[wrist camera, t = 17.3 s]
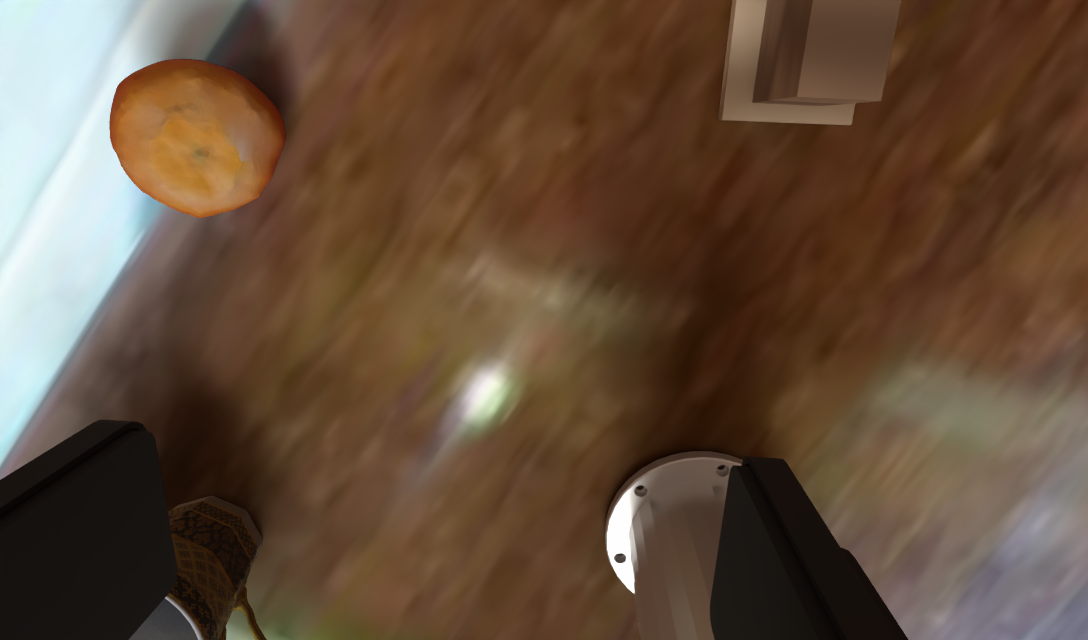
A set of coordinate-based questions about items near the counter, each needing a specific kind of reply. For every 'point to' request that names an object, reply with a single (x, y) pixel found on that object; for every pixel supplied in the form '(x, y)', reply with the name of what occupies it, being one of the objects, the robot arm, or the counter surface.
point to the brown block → (825, 51)
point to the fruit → (196, 135)
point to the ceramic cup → (206, 573)
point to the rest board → (743, 74)
